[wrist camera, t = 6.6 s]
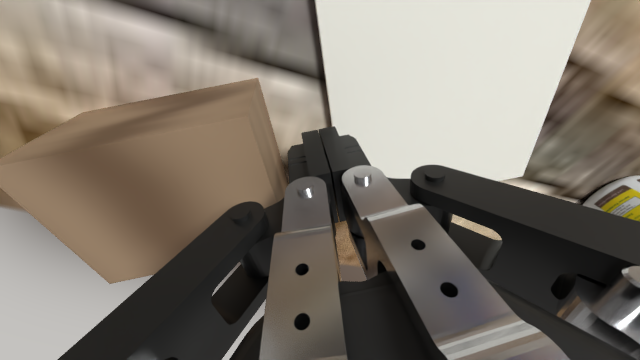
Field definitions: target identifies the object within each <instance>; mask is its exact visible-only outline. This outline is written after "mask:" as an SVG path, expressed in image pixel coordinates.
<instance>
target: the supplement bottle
mask: <svg viewBox="0 0 640 360" xmlns="http://www.w3.org/2000/svg"><path fill="white" fill-rule="evenodd" d="M583 206H587V207H590V208H594V209H597V210H601V211H604V212H608V213H611V214H615V215H618V216H622V217H626V218H629V219H633V220H636V221H640V176H630V177H625V178H622V179H619V180H616V181H614V182H612V183H610V184H608V185H606V186H604V187H603V188H601V189H600V190H598V191H597V192H595V193H594V194H593V195H592V196H590V197H589V198H588V199H587V200H586V201H585V202H584V204H583Z"/></svg>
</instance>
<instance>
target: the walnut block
mask: <svg viewBox="0 0 640 360" xmlns="http://www.w3.org/2000/svg"><path fill="white" fill-rule="evenodd" d="M287 186H288V181H287V177H286V174H285V170H284V167H283V163H282V160H281V156H280V153H279V149H278V146H277V142H276V139H275V135H274V132H273V128H272V125H271V121H270V118H269V114H268V111H267V108H266V104H265V101H264V97H263V94H262V90H261V87H260V83H259V80H258V78H255V79H250V80H245V81H240V82H235V83H230V84H225V85H220V86H215V87H209V88H204V89H199V90H194V91H189V92H184V93H179V94H174V95H169V96H164V97H159V98H154V99H149V100H144V101H139V102H134V103H129V104H123V105H118V106H113V107H108V108H103V109H98V110H93V111H88V112H83V113H81V114H79V115H77V116H76V117H74V118H72V119H70V120H68V121H67V122H65V123H63V124H61V125H59V126H58V127H56V128H54V129H52V130H50V131H49V132H47V133H45V134H43V135H41V136H40V137H38V138H36V139H34V140H32V141H31V142H29V143H27V144H25V145H23V146H22V147H20V148H18V149H16V150H14V151H13V152H11V153H9V154H7V155H5V156H4V157H2V158H0V188H1V189H2V190H3V191H5V192H6V193H7V194H8V195H9V196H10V197H11V198H12V199H14V200H15V201H16V202H17V203H18V204H19V205H20V206H22V207H23V208H24V209H25V210H26V211H27V212H28V213H30V214H31V215H32V216H33V217H34V218H35V219H37V220H38V221H39V222H40V223H41V224H42V225H43V226H45V227H46V228H47V229H48V230H49V231H50V232H51V233H52V234H54V235H55V236H56V237H57V238H58V239H59V240H60V241H62V242H63V243H64V244H65V245H66V246H67V247H68V248H70V249H71V250H72V251H73V252H74V253H75V254H76V255H78V256H79V257H80V258H81V259H82V260H83V261H85V262H86V263H87V264H88V265H89V266H90V267H91V268H92V269H93V270H95V271H96V272H97V273H98V274H99V275H100V276H101V277H103V278H104V279H105V280H106V281H107V282H108V283H110V284H111V283H116V282H121V281H125V280H130V279H135V278H140V277H144V276H149V275H154V274H156V273H157V272H158V271H159V270H160V269H161V268H162V267H163V266H165V265H166V264H167V263H168V262H169V261H170V260H171V259H173V258H174V257H175V256H176V255H177V254H178V253H179V252H181V251H182V250H183V249H184V248H185V247H186V246H187V245H189V244H190V243H191V242H192V241H193V240H194V239H195V238H196V237H198V236H199V235H200V234H201V233H202V232H203V231H204V230H206V229H207V228H208V227H209V226H210V225H211V224H212V223H214V222H215V221H216V220H217V219H218V218H219V217H220V216H221V215H223V214H224V213H225V212H226V211H227V210H228V209H230V208H231V207H233V206H235V205H237V204H239V203H243V202H248V201H253V202H258V203H260V204H261V205H262V206H263V208H267V207H269V206H271V205H273V204H275V203H277V202H279V201H280V200H282V199H283V198H284V197H285V190H286V188H287Z"/></svg>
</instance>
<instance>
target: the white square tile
mask: <svg viewBox="0 0 640 360" xmlns="http://www.w3.org/2000/svg"><path fill="white" fill-rule="evenodd" d="M590 1H591V0H314V2H315V9H316V16H317V23H318V31H319V38H320V45H321V52H322V60H323V67H324V74H325V81H326V89H327V96H328V103H329V110H330V118H331V125H332V127H333V126H335V128H336V130H337V132H338V134H339V136H343V135H350V136H352V137H354V138H356V140H357V141H358V143H359V146H360V147H361V148H362V151H363V152H364V154H365V155H366V157H367V159H368V161H369V162H370V164H371V166H373V167H376V168H378V169H380V170H381V171H382V172H383V173H384V175H385V176H386V177H388V178H396V179H411V173H412V172H413V170H415V169H416V168H418V167H420V166H424V165H441V166H445V167H449V168H452V169H456V170H459V171H463V172H466V173H470V174H473V175H477V176H480V177H484V178H487V179H491V180H495V181H501V180H506V179H511V178H516V177H521V176H523V174H524V172H525V169H526V166H527V164H528V161H529V159H530V156H531V153H532V151H533V148H534V146H535V143H536V141H537V138H538V135H539V133H540V130H541V128H542V125H543V122H544V120H545V117H546V115H547V112H548V110H549V107H550V104H551V102H552V99H553V97H554V94H555V92H556V89H557V86H558V84H559V81H560V79H561V76H562V73H563V71H564V68H565V66H566V63H567V61H568V58H569V55H570V53H571V50H572V48H573V45H574V43H575V40H576V37H577V35H578V32H579V30H580V27H581V24H582V22H583V19H584V17H585V14H586V12H587V9H588V6H589V4H590Z"/></svg>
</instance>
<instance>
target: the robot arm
mask: <svg viewBox="0 0 640 360" xmlns="http://www.w3.org/2000/svg"><path fill="white" fill-rule="evenodd" d="M302 139H303V144H299V145H294V146H292V147H291V148H290V150H289V151H288V165H289V183H290V184H289V185H288V186H287V188H286V190H285V197H284V198H283V199H282V200H280V201H279V202H277V203H275V204H273V205H271V206H269V207H267V208H263V206H262V205H261V204H260V203H258V202H253V201H248V202H243V203H239V204H237V205H235V206H233V207H231V208H230V209H228V210H227V211H226V212H225V213H224V214H223V215H221V216H220V217H219V218H218V219H217V220H216V221H215V222H214V223H212V224H211V225H210V226H209V227H208V228H207V229H206V230H204V231H203V232H202V233H201V234H200V235H199V236H198V237H196V238H195V239H194V240H193V241H192V242H191V243H190V244H189V245H187V246H186V247H185V248H184V249H183V250H182V251H181V252H179V253H178V254H177V255H176V256H175V257H174V258H173V259H171V260H170V261H169V262H168V263H167V264H166V265H165V266H163V267H162V268H161V269H160V270H159V271H158V272H157V273H156V274H154V275H153V276H152V277H151V278H150V279H149V280H148V281H146V283H144V284H143V285H142V286H141V287H140V288H138V289H137V290H136V291H135V292H134V293H133V294H132V295H131V296H129V297H128V298H127V299H126V300H125V301H124V302H123V303H121V304H120V305H119V306H118V307H117V308H116V309H115V310H114V311H112V312H111V313H110V314H109V315H108V316H107V317H106V318H104V319H103V320H102V321H101V322H100V323H99V324H98V325H97V326H95V327H94V328H93V329H92V330H91V331H90V332H88V333H87V334H86V335H85V336H84V337H83V338H82V339H80V340H79V341H78V342H77V343H76V344H75V345H74V346H73V347H71V348H70V349H69V350H68V351H67V352H66V353H65V354H63V355H62V356H61V357H60V358H59V359H58V360H222V358H223V357H224V355H225V354H226V353H227V351H228V350H229V349H230V347H231V346H232V344H233V343H234V341H235V340H236V339H237V338H238V336H239V335H240V333H241V332H242V331H243V329H244V328H245V327H246V325H247V324H248V322H249V321H250V320H251V318H252V317H253V316H254V314H255V313H256V312H257V310H258V309H259V307H260V306H261V305H262V303H263V302H264V300H265V299H266V306H265V314H264V316H262V317H261V319H259V321H257V322H256V323H255V324H254V326H253V327H252V328H251V329H250V331H249V332H248V333H247V334H246V336H245V337H244V339H243V340H242V342H241V343H240V344H239V346H238V348H237V349H236V351H235V352H234V353H233V355H232V357H231V358H230V359H229V360H640V221H636V220H633V219H629V218H626V217H622V216H618V215H615V214H611V213H608V212H604V211H601V210H597V209H594V208H590V207H587V206H583V205H580V204H576V203H572V202H569V201H565V200H562V199H558V198H555V197H551V196H548V195H544V194H541V193H537V192H533V191H530V190H526V189H523V188H519V187H516V186H512V185H509V184H505V183H502V182H498V181H495V180H491V179H487V178H484V177H480V176H477V175H473V174H470V173H466V172H463V171H459V170H456V169H452V168H449V167H445V166H441V165H424V166H420V167H418V168H416V169H415V170H413V172H412V173H411V179H396V178H388V177H386V176H385V175H384V173H383V172H382V171H381V170H380V169H378V168H376V167H373V166H371V164H370V162H369V161H368V159H367V157H366V155H365V154H364V152H363V151H362V148H361V147H360V146H359V143H358V141H357V140H356V138H354V137H352V136H350V135H343V136H339V134H338V132H337V130H336V128H335V126H333V127H328V128H323V129H319V133H318V130H314V131H309V132H304V133H302ZM336 209H337V210H336ZM337 212H338V216H339V220H340V222H341V221H347V224H348V230H349V236H350V239H351V242H352V244H353V247H354V249H355V252H356V254H357V256H358V259H359V261H360V264H361V266H362V269H363V271H364V274H365V276H366V279H367V280H366V281H363V282H347V281H341V273H340V266H339V259H338V252H337V244H336V238H335V236H336V228H335V223H337V222H338V216H337ZM453 214H454V215H457V216H459V217H462V218H465V219H467V220H470V221H472V222H475V223H477V224H480V225H482V226H485V227H488V228H490V229H492V230H494V231H495V232H497V233H498V234H499V235H500V236H501V238H502V240H493V239H491V238H488V237H486V236H483V235H481V234H479V233H476V232H474V231H471V230H469V229H467V228H464V227H462V226H459V225H457V224H454V223H452V222H451V220H452V215H453ZM239 261H240V262H241V265H240V266H239V267H238V268H237V269H236V270H235V271H234V273H233V274H232V275H231V276H230V277H229V278H228V279H227V280H226V281H225V283H224V284H223V285H222V286H221V287H220V288H219V289H218V290H217V292H216V293H215V294H214V295H213V296H212V294H213V292H214V290H215V288H216V287H217V286H218V284H219V283H220V282H221V281H222V280H223V279H224V278H225V277H226V276H227V274H228V273H229V272H230V271H231V270H232V269H233V268H234V267H235V266H236V264H237V263H238V262H239Z"/></svg>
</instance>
